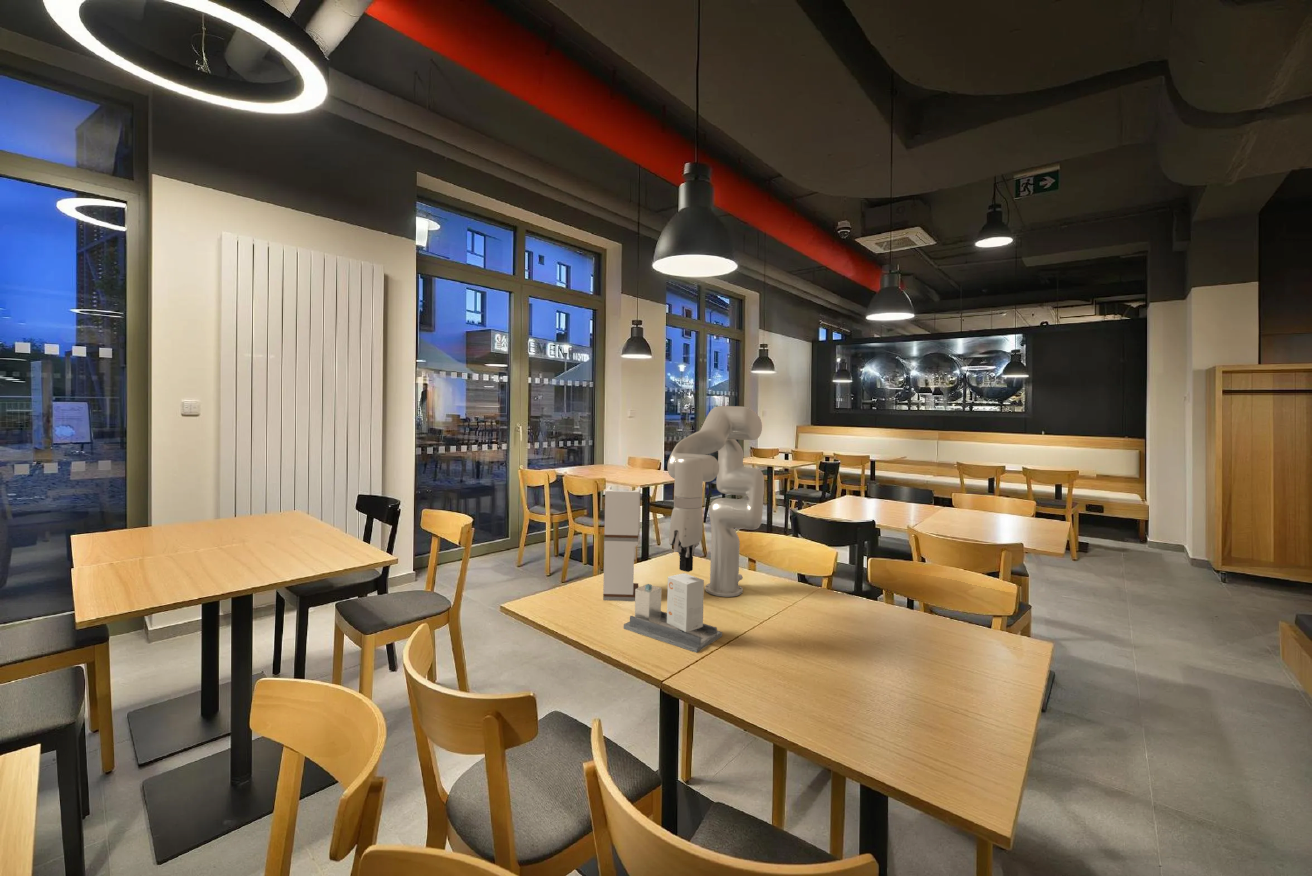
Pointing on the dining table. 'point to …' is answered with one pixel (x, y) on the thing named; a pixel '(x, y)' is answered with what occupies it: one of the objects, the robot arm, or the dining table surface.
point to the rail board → (665, 623)
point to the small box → (685, 602)
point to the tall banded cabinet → (620, 543)
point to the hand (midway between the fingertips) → (685, 570)
